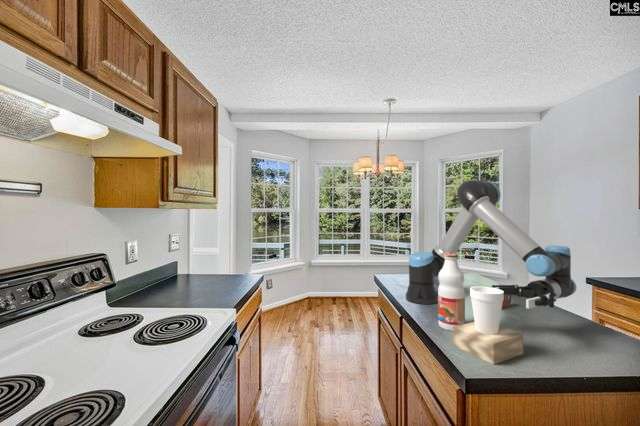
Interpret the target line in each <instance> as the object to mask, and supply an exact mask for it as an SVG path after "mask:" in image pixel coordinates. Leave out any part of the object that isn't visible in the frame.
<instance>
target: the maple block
mask: <svg viewBox="0 0 640 426" xmlns="http://www.w3.org/2000/svg"><path fill="white" fill-rule="evenodd" d="M452 344H453V346H455V347H457V348H459V349H461V350H463V351H465V352H467V353H469V354H471V355H473V356H475V357H477V358H480V359H481V360H483V361H485V362H487V363H490V364H492V365H496V364H499V363H502V362H505V361H508V360H510V359H513V358H516V357H519V356H522V355H524V334H522V333H520V332H517V331H515V330H511V329H508V328H505V327H503V326H500V325H499V331H498V334H495V335H490V334H484V333H481V332H478V331H477V330H476V327H475V322H474V321H471V322H470V321H469V322H468V323H467V322H465V324H462V325H458V326H454V327H453V331H452Z"/></svg>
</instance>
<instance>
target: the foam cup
mask: <svg viewBox="0 0 640 426" xmlns="http://www.w3.org/2000/svg"><path fill="white" fill-rule="evenodd" d="M469 296H470V300H471V307H472V314H473V319H474V321H473V322H475V327H476V330H477V331H478V332H481V333H484V334H490V335H495V334H498V331H499V326H500V324H501V317H502V316H501V315H502V310H503V309H502V303H503V300H504V291H502V290H500V289H497V288H492V286H491V287H490V286H481V285H480V286H479V285H478V286H470V288H469Z"/></svg>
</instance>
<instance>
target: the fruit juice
mask: <svg viewBox="0 0 640 426" xmlns="http://www.w3.org/2000/svg"><path fill="white" fill-rule="evenodd" d="M458 257H459V255H458V254H457V253H456V254H455V253H445V254H444V258H445V262H444V265H443V268H442V269H441V270H440V272H439V274H438V276H437V278H438V282H439V285H438V288H437V296H438V302H437V317H438V318H437V320H438V321H437V323H438V326H439V327H440V328H441V329H443V330H446V331H452V332H453V327H454V326H458V325H462V324H466V299H465V298H466V293H465V288H464V283H465V275H464V273H463V271H462V270H461V269H460V266H459V264H458Z"/></svg>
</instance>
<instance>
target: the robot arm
mask: <svg viewBox="0 0 640 426" xmlns="http://www.w3.org/2000/svg"><path fill="white" fill-rule="evenodd" d="M456 197H457V201H458V202H459V203H460V205H461V206H462V207H461V209H460V210H459V212H458V213H457V215H456V217H455V219H454V220H453V222H452V223H451V225H450V227H449V228H448V230H447V232H446V233H445V235H444V237H443V238H442V240H441V242H440V243H439V245H435V246H434V247H433V249H432V250H431V251H414V252H412V253H411V254H410V255H409V258H408V279H409V280H408V287H407V291H406V293H405V300H406V301H408V302H409V303H414V304H416V305H417V304H419V305H433V304H438V294H437V291H436V288H435V284H434V283H435V281H434V279H435V277H438V274H439V272H440V270H441V269H442V268H443V265H444V262H445V258H444V254H445V253H455V254H457V253H458V251H459V249H460V248H461V246H462V244H463V243H464V241H465V239H467V236H468V235H469V233H470V232H471V230H472V229H473V227H474V225H475V224H476V223H477V221H478V220H480V221H481V222H482V223H484V225H485V226H486V227H487V228H489V230H491V232H493V233H494V234H495V235H496V236H497V237H498V238H499V239H500V240H501V241H502V242H503V243H504V244H506V246H508V248H510V249H511V250H512V251H513V253H515V255H517V256H518V257H519V258H520V259H521V260H522V261H523V262H524V263H525V268H526V271H527V272H529V274H530V275H532V276H535V277H539V278H540V277H545V278H542V279H538V280H533V281H530V282H529V283H528V284H527V285H523V286H519V285H518V284H510V285H509V284H508V285H507V284H505V285H504V284H498V285H497V284H496V285H495V284H492V285H491V287H492V288H497V289H500V290H502V291H504V294H508V295H511V296H517V297H522V298H523V297H524V298H527V299H525V309H529V310H530V309H534V308H537V307H547V306H548V307H550V308H551V309H552V308H555V302H557V299H563V298H567V297H571V296H572V295H574V294H575V293H576V292H577V284H576V283H575V281H574V279H572V277H571V272H572V270H571V269H572V268H571V267H572V266H571V260H572V259H571V258H572V255H571V249H570V247H568V246H565V245H546V246H545V248H542V247H541V246H540V245H539V244H538V243H537V242H536V241H535V240H534V239H533V238H531V236H529V235H528V233H526V232H525V231H523V230H522V229H521V227H519V226H518V225H517V224H516V223H514V222H513V221H512V220H511V219H510V218H509V217H508V216H507V215H505V214H504V213H503V211H501V210H500V209H499V208H498V207H497V206H496V205H497V204H498V203H499V201H500V200H501V190H500V188H499V186H498V185H497V184H495V183H494V182H492V181H488V180H477V179H476V180H475V179H470V180H466V181H463V183H461V184H460V185H459V186H458V188H457V191H456Z"/></svg>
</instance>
